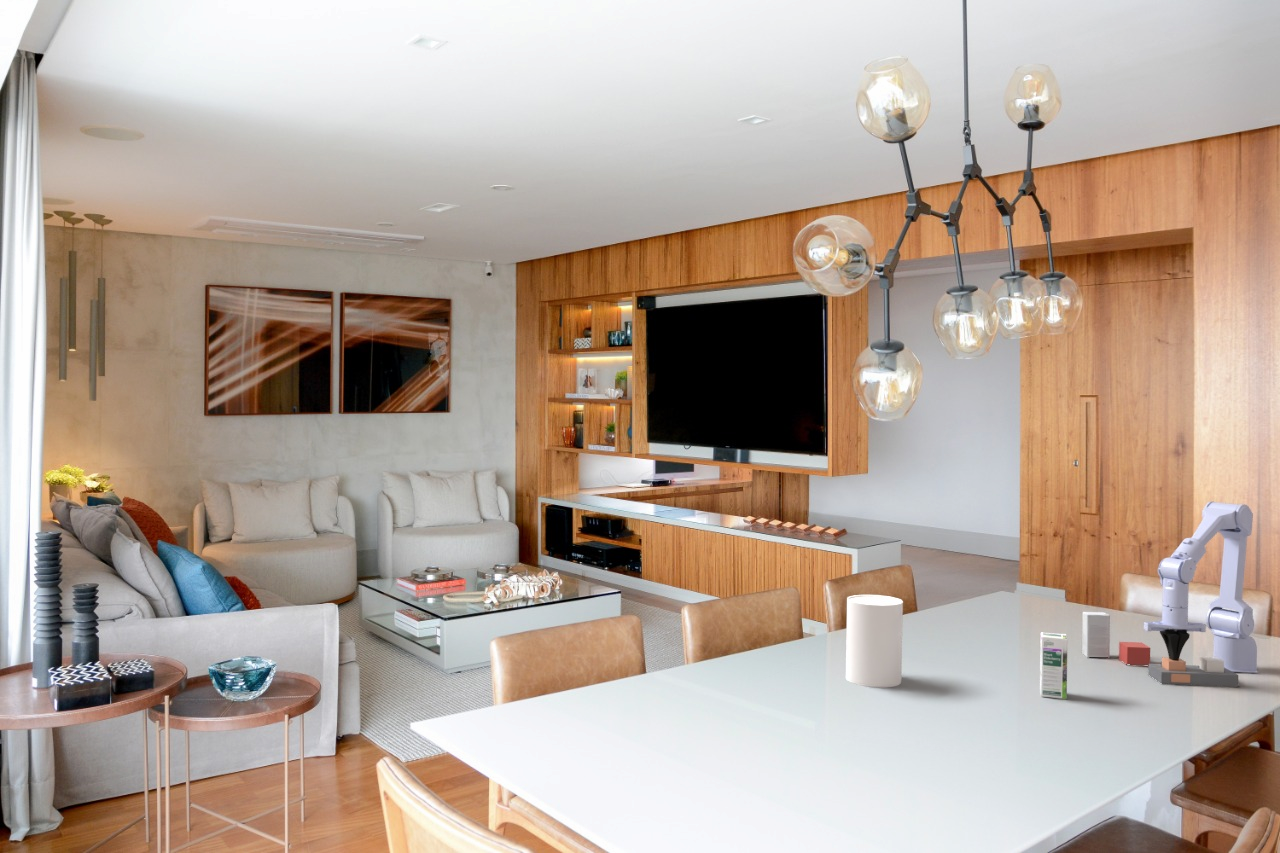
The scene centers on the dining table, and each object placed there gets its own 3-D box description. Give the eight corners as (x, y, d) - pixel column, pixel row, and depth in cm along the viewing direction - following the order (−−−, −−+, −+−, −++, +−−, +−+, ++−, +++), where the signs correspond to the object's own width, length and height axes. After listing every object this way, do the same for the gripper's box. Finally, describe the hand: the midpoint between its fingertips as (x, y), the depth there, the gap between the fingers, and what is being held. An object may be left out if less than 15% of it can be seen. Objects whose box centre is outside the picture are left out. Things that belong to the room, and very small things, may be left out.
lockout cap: (1141, 660, 265) (1141, 642, 265) (1149, 666, 259) (1150, 647, 259) (1118, 660, 266) (1119, 641, 266) (1127, 665, 260) (1127, 646, 260)
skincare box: (1103, 654, 271) (1104, 611, 271) (1109, 658, 267) (1110, 615, 267) (1081, 654, 272) (1082, 611, 271) (1086, 658, 267) (1087, 614, 267)
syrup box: (1040, 697, 230) (1041, 636, 230) (1039, 690, 236) (1040, 630, 236) (1066, 700, 228) (1067, 638, 228) (1065, 693, 234) (1066, 632, 234)
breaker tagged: (1178, 671, 248) (1178, 657, 248) (1185, 675, 244) (1185, 661, 244) (1161, 670, 248) (1162, 657, 248) (1168, 675, 244) (1168, 661, 244)
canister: (858, 669, 253) (859, 592, 253) (909, 678, 245) (910, 599, 245) (837, 680, 242) (838, 600, 242) (889, 690, 234) (890, 607, 234)
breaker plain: (1216, 671, 247) (1216, 657, 247) (1223, 675, 243) (1224, 661, 243) (1199, 670, 247) (1199, 656, 247) (1206, 674, 243) (1207, 660, 243)
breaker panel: (1222, 678, 249) (1222, 666, 248) (1238, 687, 240) (1238, 675, 240) (1148, 675, 251) (1148, 663, 251) (1161, 684, 242) (1161, 672, 242)
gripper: (1195, 603, 250) (1194, 656, 250) (1138, 602, 250) (1137, 655, 250) (1211, 608, 243) (1209, 663, 243) (1152, 607, 243) (1150, 662, 243)
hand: (1173, 659), depth 246 cm, fingers closed, pressing on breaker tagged
